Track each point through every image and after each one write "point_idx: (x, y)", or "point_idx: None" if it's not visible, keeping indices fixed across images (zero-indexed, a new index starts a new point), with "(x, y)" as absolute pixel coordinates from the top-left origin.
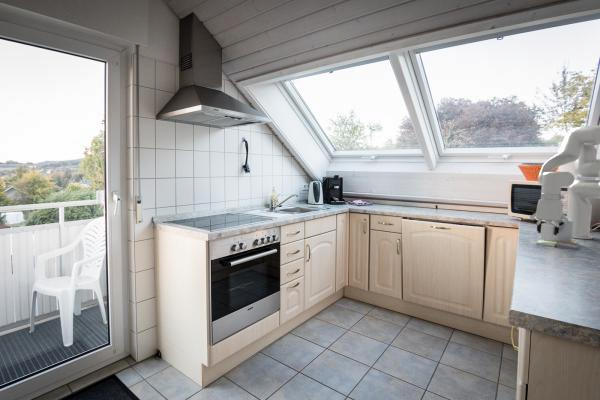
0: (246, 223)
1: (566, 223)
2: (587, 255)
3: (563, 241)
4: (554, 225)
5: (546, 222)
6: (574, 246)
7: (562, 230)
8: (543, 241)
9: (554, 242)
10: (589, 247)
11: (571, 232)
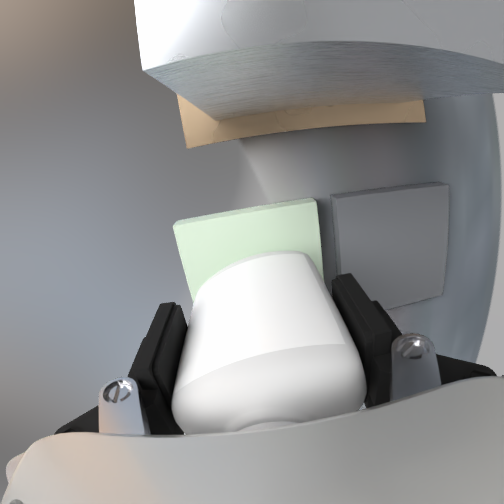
0: None
1: (500, 80)
2: None
3: (352, 113)
4: (359, 407)
5: None
6: (436, 267)
7: (384, 88)
8: (225, 265)
9: (305, 226)
10: (480, 118)
11: (459, 94)
